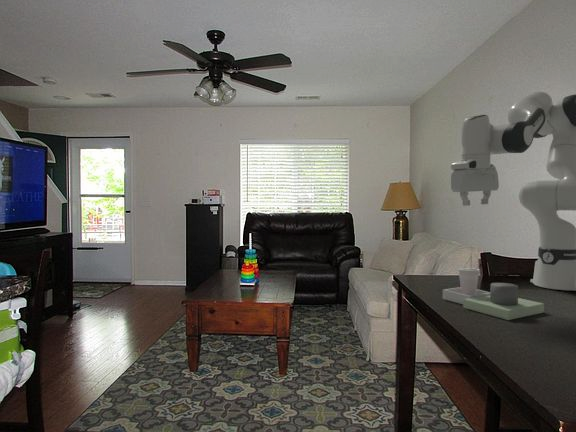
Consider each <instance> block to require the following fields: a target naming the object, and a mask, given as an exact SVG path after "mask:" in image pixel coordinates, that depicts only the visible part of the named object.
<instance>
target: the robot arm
mask: <svg viewBox="0 0 576 432" xmlns="http://www.w3.org/2000/svg"><path fill="white" fill-rule="evenodd" d="M507 120H508V123H507V124H500V125H493V124H492V123H491V122H490V117H489V116H488V115H487V114H480V115H474V116H469V117H466V118H465V119H464V120H463V123H462V127H461V146H462V151H461V159H459V160H457V161H455V162H452V163H451V165H450V169H451V170H452V171H451V174H450V189H451V191H452V192H453V193H459V196H460V198H461V200H462V206H465V207H467V206H469V207H470V205H471V200H470V199H469V197H468V195H469V192H472V193H473V192H482V196H483V197H482V199H480V205H488V204H489V199H490V197H491V193H492V192H493V191H497V190H499V187H500V186H499V185H500V184H499V182H500V181H499V174H498V171H497V168H496V166H495V165H494V164H493V163H491V155H502V154H523V153H525V152H526V151H527V150H528V149H529V148H530V147H531V145H532V144H533V141H534V139H542V138H545V137H547V136H549V135H552V140H551V144H550V146H549V151H548V155H547V162H546V171H547V172H548V174H549V175H550V176H551V177H553V178H554V179H557V180H537V181H536V180H535V181H531V182H526V183H524V184H523V185H522V187H521V188H520V189H519V192H518V199H519V202H520V204H521V205H522V207H523V208H525V209H526V210H528V211H529V212H530V214H532V215H533V217H534V218H535V220H536V221H537V224H538V229H539V247H538V250H537V253H538V254H537V256H538V259H537V260H535V262H534V270H533V271H534V272H533V278H530V281H529V282H530V283H532V284H533V285H535V286H537V287H540V288H545V289H550V290H561V291H575V292H576V226H575V225H574V224H573V223H571V222H569V221H568V220H565V219H563V218H561V217H560V216H559V215H558V213H557V211H573V212H575V211H576V93H575V94H570V95H567V96H564V98H562V99H558V100H556V101H554V102H553V99H552V97H551V96H550V94H548V93H547V92H544V91H536V92H532V93H530V94H527V95H525V96H524V97H523V96H522V98H519V100H517V101H516V102H515V103H514V104H512V106H511V107H509V110H508V112H507Z"/></svg>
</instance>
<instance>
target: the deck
mask: <svg viewBox="0 0 576 432" xmlns="http://www.w3.org/2000/svg"><path fill="white" fill-rule="evenodd" d="M489 289H490V292H489V291H486V290H482V289H478V288H477V289H476V295H472V296H468V295H464V294H461V286H460V287H452V288H445V289H442V299H443V300H445V301H449V302H452V303H456V304H461V305H462V306H463V307H462V308H463V309H467V310H471V311H474V312H478V313H480V314H484V315H489V316H493V317H495V318H499V319H503V320H506V321H510V320H511V321H512V320H514V319H515V320H516V319H519V318H523V317H524V318H525V317H529V316H533V315H539V314H542V313H545V303H543V302H538V301H534V300H530V299H529V300H528V299H524V298H521V297H519V286H518V285H517V284H513V283H508V282H507V283H506V282H492V283H490V288H489Z"/></svg>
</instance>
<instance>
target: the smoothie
mask: <svg viewBox="0 0 576 432" xmlns="http://www.w3.org/2000/svg"><path fill="white" fill-rule="evenodd" d="M457 272H458V275H459V286H460V287H461V294H464V295H468V296H472V295H476V289H478V281H479V275H480V273H481V270H480V269H479V268H475V267H473V255H472V254H470V255H469V267H459V268H458V269H457Z"/></svg>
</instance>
